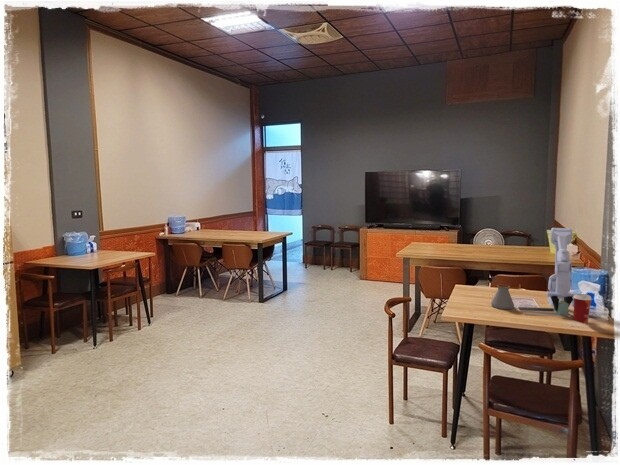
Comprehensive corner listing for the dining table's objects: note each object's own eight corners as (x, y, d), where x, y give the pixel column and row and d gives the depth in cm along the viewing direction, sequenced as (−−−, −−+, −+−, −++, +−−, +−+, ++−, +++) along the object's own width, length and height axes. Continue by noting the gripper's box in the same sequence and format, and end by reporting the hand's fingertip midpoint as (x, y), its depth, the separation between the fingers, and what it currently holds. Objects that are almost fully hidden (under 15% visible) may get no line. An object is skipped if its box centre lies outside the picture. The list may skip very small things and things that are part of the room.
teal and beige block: (553, 311, 224) (554, 298, 223) (561, 311, 223) (562, 298, 222) (559, 315, 217) (560, 302, 216) (567, 315, 216) (568, 302, 215)
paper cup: (591, 326, 204) (593, 298, 202) (573, 324, 206) (575, 296, 205) (587, 321, 211) (589, 294, 209) (569, 320, 214) (571, 292, 212)
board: (518, 311, 228) (518, 306, 227) (564, 313, 225) (564, 308, 224) (525, 318, 217) (526, 312, 216) (574, 320, 214) (574, 314, 213)
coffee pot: (517, 312, 226) (519, 284, 224) (495, 312, 227) (497, 284, 225) (501, 301, 247) (502, 276, 246) (481, 301, 248) (482, 276, 246)
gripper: (550, 286, 215) (548, 312, 217) (581, 287, 213) (579, 313, 215) (544, 282, 222) (543, 308, 224) (574, 283, 220) (573, 309, 222)
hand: (560, 310), depth 220 cm, fingers closed on teal and beige block, 4 cm apart
